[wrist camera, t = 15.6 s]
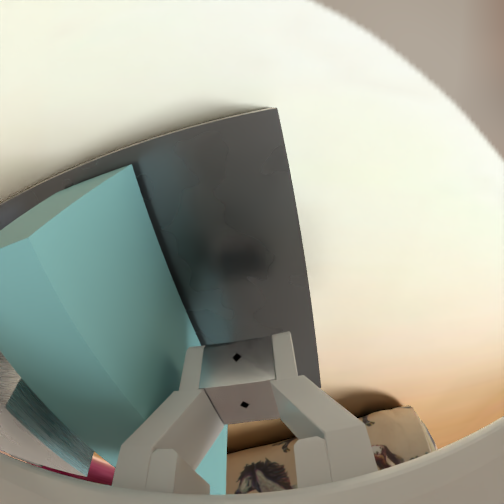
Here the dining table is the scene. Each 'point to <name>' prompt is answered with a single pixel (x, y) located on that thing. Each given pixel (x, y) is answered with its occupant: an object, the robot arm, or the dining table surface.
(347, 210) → the dining table surface
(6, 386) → the steel block
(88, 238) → the bar
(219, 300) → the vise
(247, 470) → the pencil case
